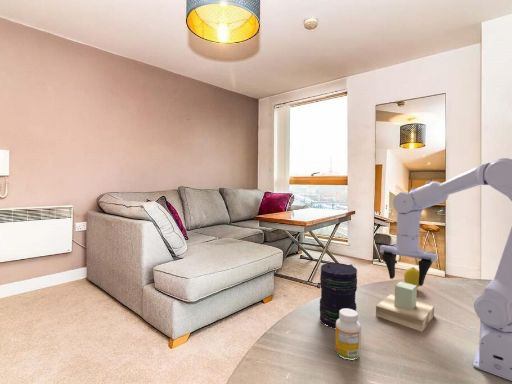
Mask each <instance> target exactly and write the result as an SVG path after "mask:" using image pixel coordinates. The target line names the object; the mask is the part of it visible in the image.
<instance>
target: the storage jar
mask: <svg viewBox="0 0 512 384" xmlns="http://www.w3.org/2000/svg"><path fill="white" fill-rule="evenodd" d="M357 277H358V269H357V268H356V267H354V266H353V265H350V264H346V263H338V262H337V263H336V262H331V263H330V262H329V263H328V262H327V263H324V264H321V266H320V275H319V280H320V281H319V286H320V289H321V291H320V293H321V295H320V299H319V315H320V316H319V321H320V320H321V321H322V322H323V323H324V324H326V325H328V326H329V327H332V328H336V321H337V319H339V311H340V310H341V309H344V308H348V309H352V310H355V311H356V312H357V309H358V307H357V303H356V292H357V289H358V286H357V285H358V278H357ZM321 321H320V322H321ZM324 324H323V325H324ZM329 327H328V328H329ZM332 328H331V329H332Z"/></svg>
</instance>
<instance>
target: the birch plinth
mask: <svg viewBox="0 0 512 384" xmlns="http://www.w3.org/2000/svg"><path fill="white" fill-rule="evenodd" d="M394 301H395V294H393V293H390V294H388V296H386V297H385V298H384V299H383V300H381V301H380V302H379V303H378V304H377V305H376V306H375V316H376V317H378V318H382V319H384V320H387V321H390V322H392V323H395V324H399V325H401V326H404V327H407V328H409V329H413V330H415V331H418V332H421V333H423V332H424V330H425V329H426V328H427V326H428V325H429V324H430V322H431V321H432V319H433V318H434V316H435V305H433V304H428V303H425V302H421V301H417V300H416V307H415V308H414V309H413V310H412V311H410V310H406V309H403V308H400V307H397V306H394Z"/></svg>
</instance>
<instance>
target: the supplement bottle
mask: <svg viewBox="0 0 512 384" xmlns="http://www.w3.org/2000/svg"><path fill="white" fill-rule="evenodd" d="M358 319H359V314H358V312H357V310H356V311H355V310H352V309H348V308H344V309H341V310H340V311H339V319H337V321H336V329H335V338H334V339H335V343H334V344H335V345H334V347H335V348H334V349H335V350H336V352H337V354H339V355H340V356H342V357H344V358H349V359H354V358H355V359H356V358H358V357H359V356H361V337H362V335H361V334H362V330H361V328H362V327H361V323H360V322H359V320H358ZM336 352H335V353H336ZM337 354H336V355H337ZM359 358H360V357H359ZM359 358H358V359H359Z"/></svg>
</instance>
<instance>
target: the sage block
mask: <svg viewBox="0 0 512 384" xmlns="http://www.w3.org/2000/svg"><path fill="white" fill-rule="evenodd" d="M417 288H418V287H417V285H413V284H408V283H405V281H404V282H403V281H399V282H398V283H396V284H395V285H394V295H395V301H394V306H397V307H400V308H403V309H406V310H410V311H412V310H413V309H414V308H415V307H416V301H417V296H418V295H417V294H418V291H417V290H418V289H417Z"/></svg>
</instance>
